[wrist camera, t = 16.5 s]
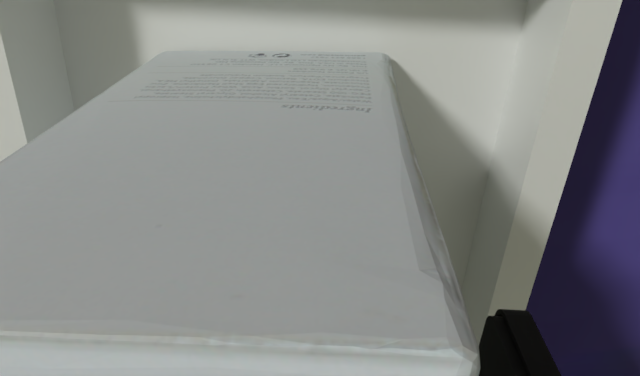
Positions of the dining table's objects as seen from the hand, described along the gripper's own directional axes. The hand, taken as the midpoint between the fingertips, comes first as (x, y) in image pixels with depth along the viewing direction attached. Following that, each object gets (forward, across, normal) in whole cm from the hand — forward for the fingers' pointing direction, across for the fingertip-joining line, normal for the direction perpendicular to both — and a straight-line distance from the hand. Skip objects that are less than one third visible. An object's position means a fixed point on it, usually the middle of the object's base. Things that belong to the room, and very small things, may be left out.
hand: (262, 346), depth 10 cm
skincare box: (+6, 0, 0) cm, 6 cm away
